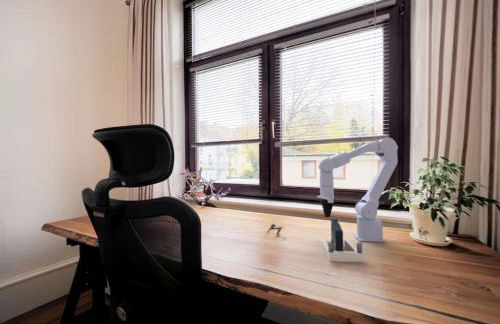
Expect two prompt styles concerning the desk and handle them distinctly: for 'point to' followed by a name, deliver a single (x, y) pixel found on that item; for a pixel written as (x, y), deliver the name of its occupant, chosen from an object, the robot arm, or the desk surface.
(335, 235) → the vhs cassette tape
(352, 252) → the rail dock
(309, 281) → the desk surface
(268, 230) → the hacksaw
